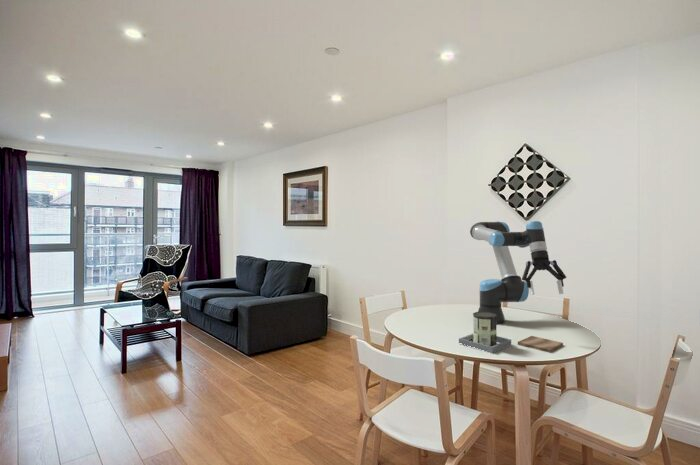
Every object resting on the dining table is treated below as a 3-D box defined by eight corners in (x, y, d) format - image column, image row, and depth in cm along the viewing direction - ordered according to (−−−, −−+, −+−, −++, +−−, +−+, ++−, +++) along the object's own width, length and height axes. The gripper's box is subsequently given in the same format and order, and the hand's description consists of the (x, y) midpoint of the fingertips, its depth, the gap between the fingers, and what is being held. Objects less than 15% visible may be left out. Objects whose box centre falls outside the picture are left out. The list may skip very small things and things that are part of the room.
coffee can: (490, 340, 174) (490, 311, 173) (501, 347, 163) (500, 316, 163) (469, 341, 173) (469, 311, 172) (478, 348, 163) (478, 317, 162)
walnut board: (517, 344, 167) (517, 341, 167) (531, 338, 176) (531, 335, 176) (549, 352, 156) (549, 349, 156) (562, 345, 165) (562, 342, 165)
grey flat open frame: (458, 343, 169) (458, 338, 169) (478, 336, 180) (478, 331, 180) (492, 353, 156) (492, 347, 156) (511, 344, 167) (511, 339, 167)
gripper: (516, 250, 178) (523, 293, 172) (568, 248, 177) (577, 292, 171) (510, 254, 185) (517, 296, 179) (560, 252, 184) (569, 294, 178)
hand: (546, 294), depth 175 cm, fingers open, 13 cm apart
